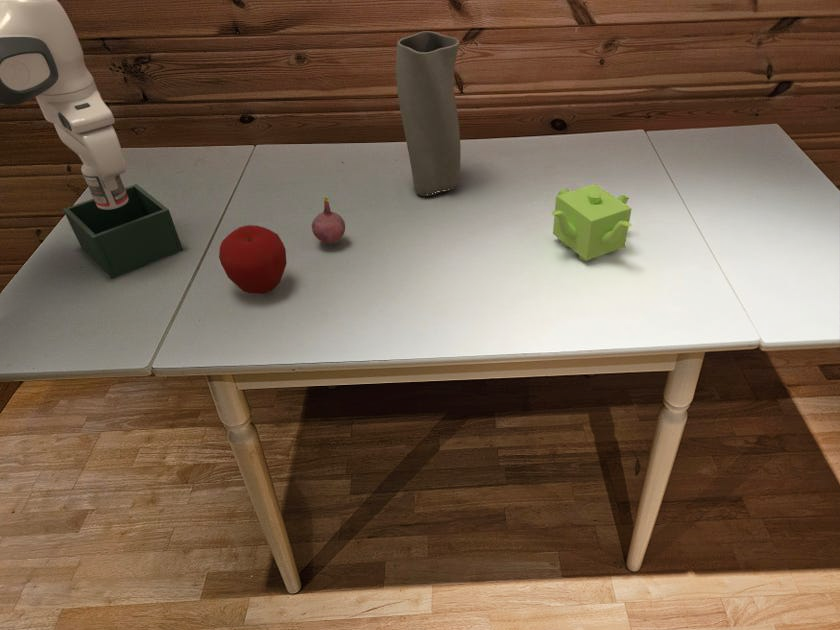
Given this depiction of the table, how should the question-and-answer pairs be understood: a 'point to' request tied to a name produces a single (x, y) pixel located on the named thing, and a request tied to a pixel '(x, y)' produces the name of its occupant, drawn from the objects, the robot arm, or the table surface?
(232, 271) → the apple
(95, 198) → the pill bottle
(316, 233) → the vegetable
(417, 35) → the vase
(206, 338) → the table surface
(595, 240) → the green peg cube
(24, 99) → the robot arm
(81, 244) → the bin
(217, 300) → the table surface
